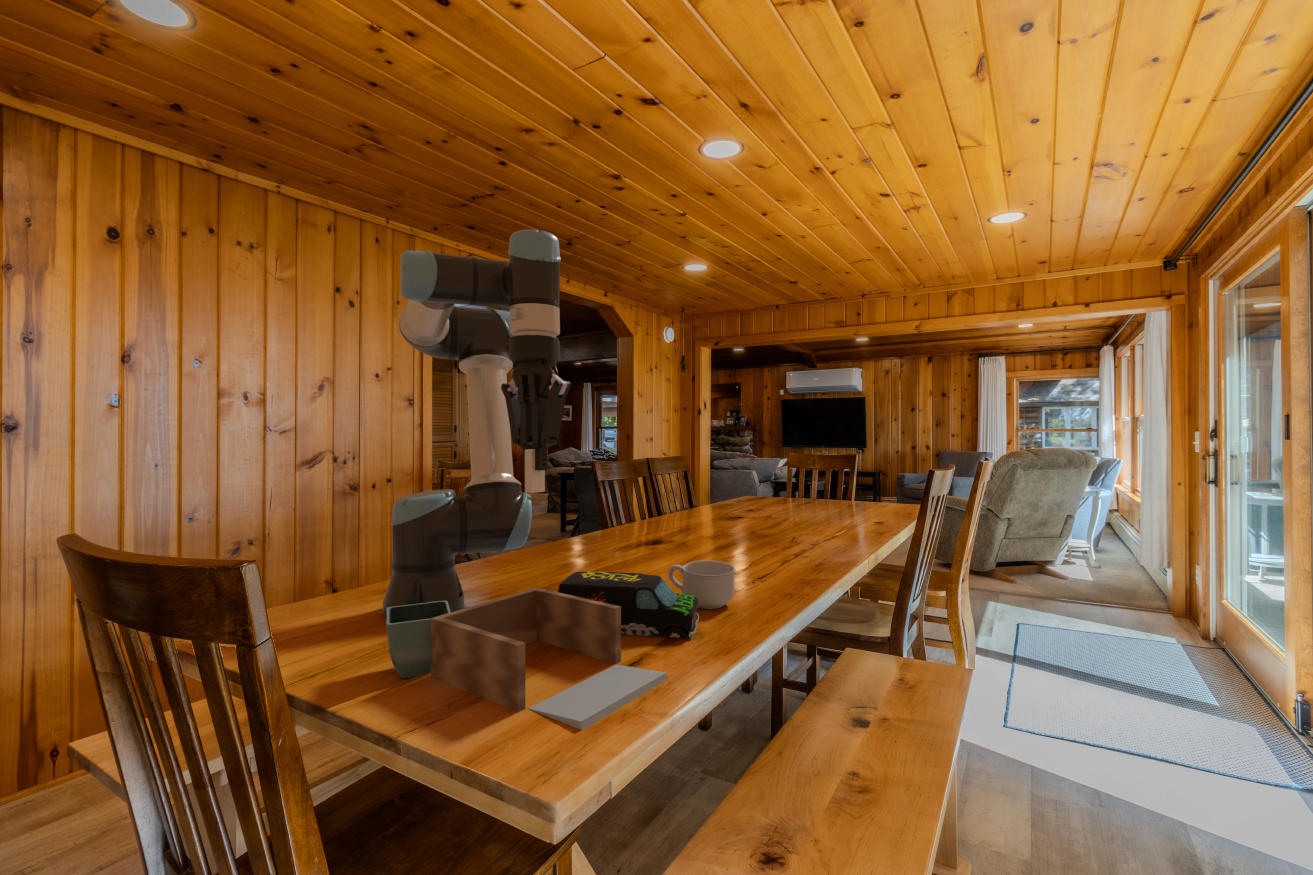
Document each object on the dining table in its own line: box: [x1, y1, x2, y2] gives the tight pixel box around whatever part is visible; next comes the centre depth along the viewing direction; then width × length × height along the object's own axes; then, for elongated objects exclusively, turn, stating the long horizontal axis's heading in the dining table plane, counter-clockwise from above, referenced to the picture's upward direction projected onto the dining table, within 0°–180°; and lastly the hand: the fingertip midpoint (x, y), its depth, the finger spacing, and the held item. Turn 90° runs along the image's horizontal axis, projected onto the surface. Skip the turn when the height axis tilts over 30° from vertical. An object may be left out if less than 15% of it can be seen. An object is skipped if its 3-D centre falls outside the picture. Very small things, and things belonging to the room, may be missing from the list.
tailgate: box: [527, 663, 668, 731], centre depth 80 cm, size 1×17×9 cm
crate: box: [430, 587, 622, 713], centre depth 88 cm, size 18×20×10 cm
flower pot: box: [385, 601, 451, 679], centre depth 90 cm, size 9×9×9 cm
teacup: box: [667, 559, 736, 610], centre depth 125 cm, size 14×11×8 cm
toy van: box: [557, 571, 700, 640], centre depth 107 cm, size 11×25×10 cm, turn 81°
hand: (535, 491), depth 92 cm, fingers closed
